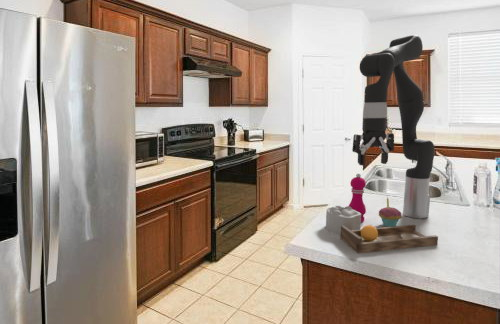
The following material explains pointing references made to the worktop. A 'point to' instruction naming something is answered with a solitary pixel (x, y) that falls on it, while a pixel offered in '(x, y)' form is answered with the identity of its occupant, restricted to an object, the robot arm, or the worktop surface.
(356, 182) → the pepper mill
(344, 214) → the lumpy-topped squat cylinder
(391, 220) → the cupcake
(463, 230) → the worktop surface
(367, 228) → the ball
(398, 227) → the wooden tray
